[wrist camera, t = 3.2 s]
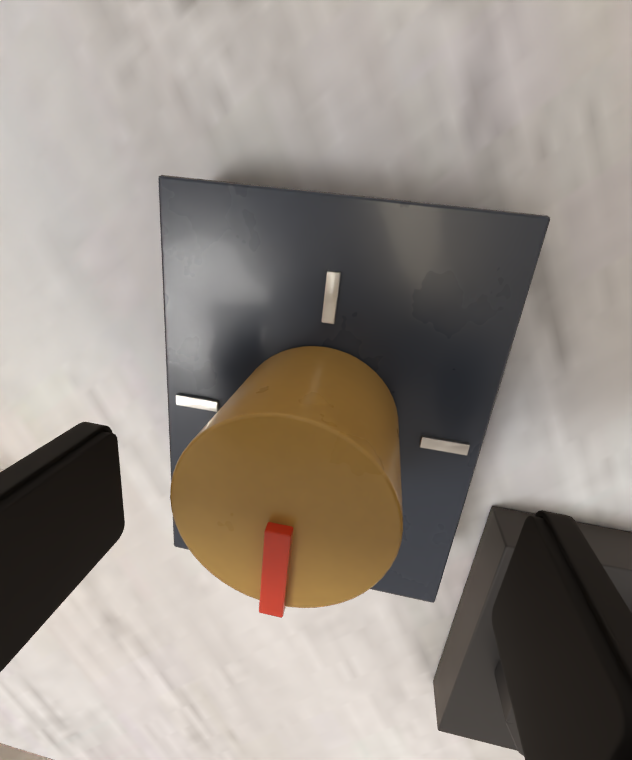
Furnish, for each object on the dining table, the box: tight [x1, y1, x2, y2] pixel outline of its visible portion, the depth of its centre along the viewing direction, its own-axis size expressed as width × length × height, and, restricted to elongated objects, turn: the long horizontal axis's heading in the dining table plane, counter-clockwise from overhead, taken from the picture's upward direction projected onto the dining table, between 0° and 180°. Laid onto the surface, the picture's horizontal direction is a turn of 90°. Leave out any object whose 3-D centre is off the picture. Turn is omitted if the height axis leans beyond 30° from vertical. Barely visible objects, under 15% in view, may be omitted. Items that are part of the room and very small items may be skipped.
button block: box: [433, 507, 632, 756], centre depth 16 cm, size 11×9×4 cm
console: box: [159, 175, 550, 602], centre depth 14 cm, size 13×10×3 cm
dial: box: [170, 346, 403, 617], centre depth 10 cm, size 5×5×5 cm
